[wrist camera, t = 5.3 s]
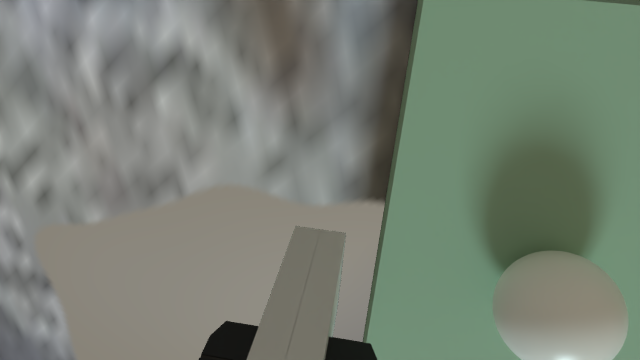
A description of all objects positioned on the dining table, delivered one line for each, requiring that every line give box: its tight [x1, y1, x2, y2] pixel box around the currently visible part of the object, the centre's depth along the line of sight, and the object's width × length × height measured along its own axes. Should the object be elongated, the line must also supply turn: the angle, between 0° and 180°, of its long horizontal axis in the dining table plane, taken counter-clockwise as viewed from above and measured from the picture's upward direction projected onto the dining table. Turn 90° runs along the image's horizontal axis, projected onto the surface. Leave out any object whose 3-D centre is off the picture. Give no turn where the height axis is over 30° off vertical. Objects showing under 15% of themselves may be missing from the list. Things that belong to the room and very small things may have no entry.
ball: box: [492, 250, 629, 360], centre depth 13 cm, size 3×3×3 cm
